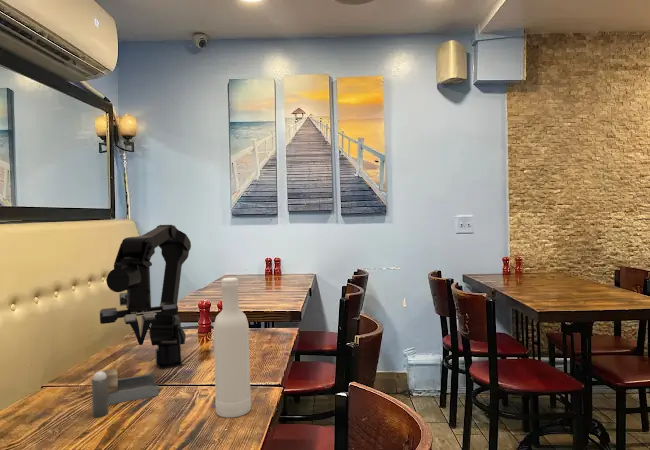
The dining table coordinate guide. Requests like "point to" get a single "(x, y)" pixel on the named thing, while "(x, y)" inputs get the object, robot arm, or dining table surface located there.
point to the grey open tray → (134, 389)
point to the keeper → (112, 380)
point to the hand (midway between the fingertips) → (140, 344)
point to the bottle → (231, 355)
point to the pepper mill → (100, 394)
